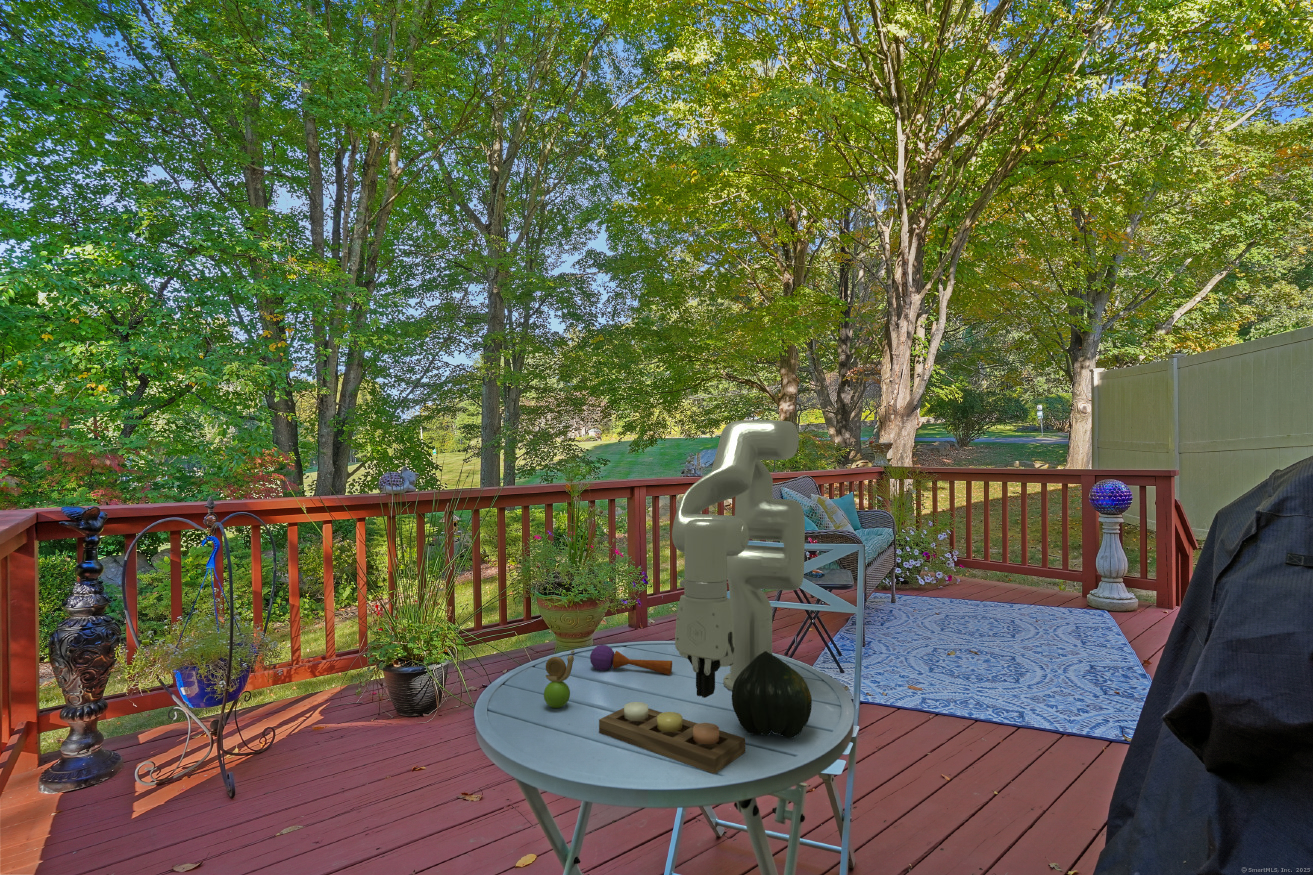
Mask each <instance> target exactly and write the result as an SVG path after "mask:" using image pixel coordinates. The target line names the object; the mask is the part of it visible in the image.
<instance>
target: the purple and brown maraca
mask: <svg viewBox="0 0 1313 875" xmlns="http://www.w3.org/2000/svg"><path fill="white" fill-rule="evenodd" d="M589 660H590V664H591V666H592V667H593V668H594V669H595V670H597V671H603V672H604V671H607V670H609V669H610V668H613V669H614V670H615V669H618V668H621V667H624V666H628V665H630V666H631V665H632V666H634V667H638V668H643V669H645V670H649V671H653V672H657V673H660V674H664V675H668V676H670V675H671V674H672V672H673V671H672V670H673V661H672V660H663V659H662V660H657V659H632V658H631V659H630V658H628V657H627V656H626V655H624V654H622V652H620V651H618V650H615V651H614V649H613V648H611V647H610V646H608V645H606V644H599V645H597V646H595V647H594V648H593V649H592V651H591V653H590V656H589Z"/></svg>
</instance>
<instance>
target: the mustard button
mask: <svg viewBox="0 0 1313 875" xmlns="http://www.w3.org/2000/svg"><path fill="white" fill-rule="evenodd" d="M682 719H683V715H682V714H681V713H678V712H675V711H666V712H662V713H661V714H659V715H658V716H657V728H658V729H659V730H661V731H664V732H676V731H679V730H681V729H682Z"/></svg>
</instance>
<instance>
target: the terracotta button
mask: <svg viewBox="0 0 1313 875" xmlns="http://www.w3.org/2000/svg"><path fill="white" fill-rule="evenodd" d="M719 730H720V727H719V726H718V725H717V724H715V723H710V722H700V723H698V724H696V725H694V727H693V739H694V741H696V742H697V743H700V744H714V743H716V742H718V741H719Z"/></svg>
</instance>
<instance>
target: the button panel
mask: <svg viewBox="0 0 1313 875" xmlns="http://www.w3.org/2000/svg"><path fill="white" fill-rule="evenodd" d="M661 713H663V712H662V711H659V710H655V709H652V708H649V707H648V718H646V719H644V720H641V721H631V720H627V719H626V718H625V717H624V707H622V708H620V709H618V710H616V711H614V712H612V713H610V714H608V715H606V716H604V717H601V718H599V719H598V734H600V735H601V734H602V735H603V736H604V735H605V736H607V737H609V738H613V739H615V740H618V741H621V742H624V743H627V744H629V745H633V746H635V747H638V748H640V749H644V750H647V751H649V752H651V753H654V754H657V755H661V756H663V757H666V758H669V759H670V760H671V759H672V760H674V761H676V762H679V763H682V764H685V765H689V766H691V767H694V768H697V769H699V770H702V771H705V772H707V773H709V774H713V775H716V774H717V773H718V772H720V771H721V770H722V769H724V768H726V767H727V766H728V765H730V764H732V762H734V761H736V759H737V760H738V758H740V757H741V756H742V755H744V754H745V753H746V737H743V736H739V735H737V734H734V733H731V732H727V731H724V730H721V729H719V741H718V742H716V743H714V744H700V743H697V742H696V741H694V739H693V727H694V725H696V724H699V723H698V722H695V721H691V720H688V719H685V718H682V729H681V730H679V731H676V732H664V731H661V730H659V729H658V728H657V716H658V715H659V714H661Z"/></svg>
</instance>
